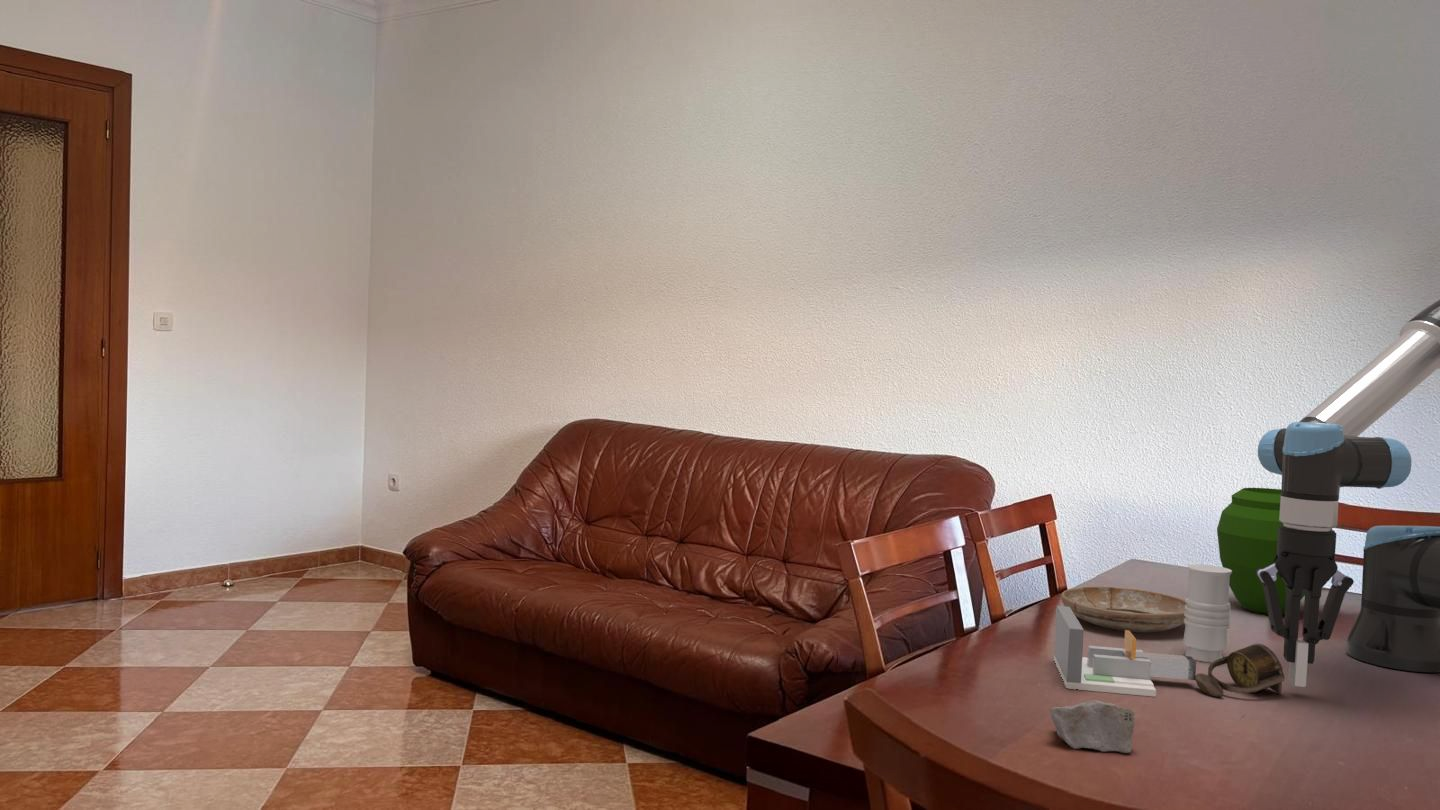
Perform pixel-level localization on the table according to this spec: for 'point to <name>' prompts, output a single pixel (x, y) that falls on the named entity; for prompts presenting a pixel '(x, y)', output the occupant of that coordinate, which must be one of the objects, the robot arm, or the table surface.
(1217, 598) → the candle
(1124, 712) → the stone
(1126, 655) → the grey metal bar
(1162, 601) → the ceramic bowl
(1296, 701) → the table surface
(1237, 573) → the vase
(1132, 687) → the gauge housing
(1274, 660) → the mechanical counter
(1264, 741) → the table surface
